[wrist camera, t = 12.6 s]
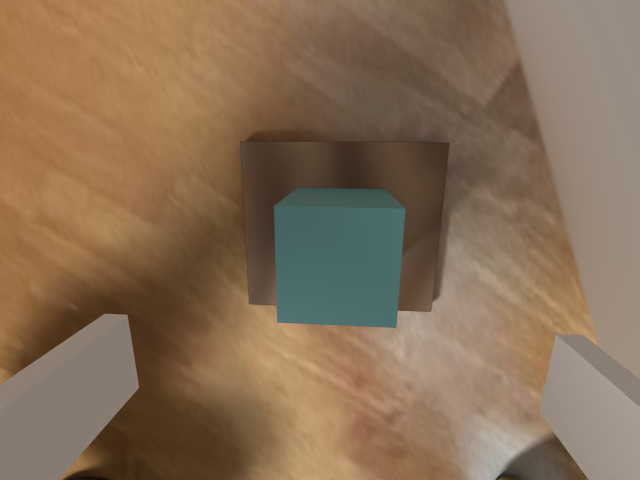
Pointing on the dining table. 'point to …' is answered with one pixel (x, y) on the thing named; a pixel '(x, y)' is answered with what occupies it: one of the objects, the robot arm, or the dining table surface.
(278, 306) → the teal toy cube
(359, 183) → the peg base
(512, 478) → the cup
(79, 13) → the dining table surface
